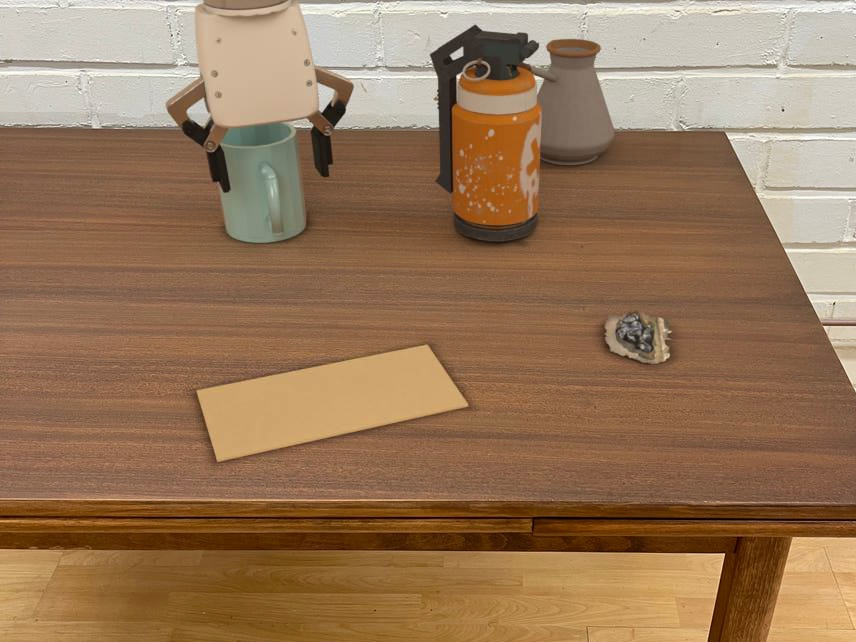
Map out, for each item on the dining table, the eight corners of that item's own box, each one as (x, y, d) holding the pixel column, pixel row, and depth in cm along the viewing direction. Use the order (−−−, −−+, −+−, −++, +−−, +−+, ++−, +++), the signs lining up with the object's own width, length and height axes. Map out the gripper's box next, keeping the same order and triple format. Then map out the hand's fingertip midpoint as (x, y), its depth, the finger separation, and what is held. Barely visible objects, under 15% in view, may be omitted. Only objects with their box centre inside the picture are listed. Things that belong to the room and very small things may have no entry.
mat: (217, 462, 71) (216, 460, 71) (196, 392, 78) (196, 390, 78) (468, 406, 77) (468, 404, 76) (427, 346, 84) (427, 344, 84)
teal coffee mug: (219, 216, 105) (203, 124, 99) (296, 205, 107) (285, 114, 101) (240, 263, 96) (224, 165, 90) (323, 249, 99) (313, 153, 92)
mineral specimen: (658, 314, 88) (660, 296, 87) (695, 359, 82) (698, 339, 81) (589, 324, 87) (591, 305, 86) (622, 369, 81) (624, 350, 80)
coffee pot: (567, 132, 126) (575, 9, 117) (631, 156, 120) (645, 27, 110) (441, 171, 116) (438, 38, 106) (504, 200, 109) (507, 61, 99)
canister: (522, 252, 98) (530, 46, 86) (423, 237, 101) (415, 35, 88) (546, 218, 105) (556, 22, 92) (452, 204, 108) (449, 12, 95)
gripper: (331, -31, 87) (349, 154, 98) (137, -13, 83) (178, 179, 94) (354, -13, 82) (370, 180, 93) (148, 7, 77) (190, 209, 88)
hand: (274, 179), depth 93 cm, fingers open, 9 cm apart
